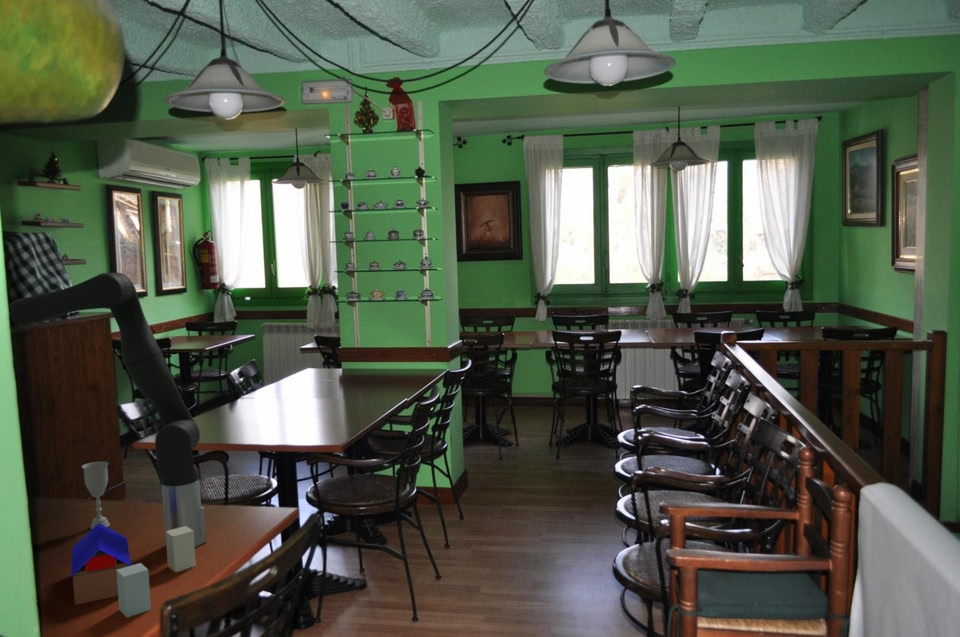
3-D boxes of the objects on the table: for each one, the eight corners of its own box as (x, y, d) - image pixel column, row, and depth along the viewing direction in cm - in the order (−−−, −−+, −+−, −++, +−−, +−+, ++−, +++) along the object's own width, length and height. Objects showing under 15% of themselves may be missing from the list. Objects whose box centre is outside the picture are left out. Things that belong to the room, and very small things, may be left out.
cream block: (188, 560, 189) (185, 525, 188) (195, 566, 185) (193, 530, 184) (168, 566, 185) (165, 531, 185) (175, 572, 182) (172, 536, 181)
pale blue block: (143, 602, 166) (140, 562, 166) (151, 609, 163) (148, 569, 162) (119, 609, 163) (116, 569, 162) (126, 617, 159) (123, 576, 158)
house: (128, 563, 189) (125, 518, 188) (133, 593, 171) (129, 544, 170) (74, 574, 183) (70, 527, 182) (73, 606, 166) (69, 555, 165)
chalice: (118, 524, 217) (113, 463, 216) (95, 532, 211) (90, 469, 210) (104, 520, 221) (99, 460, 219) (81, 527, 215) (76, 466, 214)
